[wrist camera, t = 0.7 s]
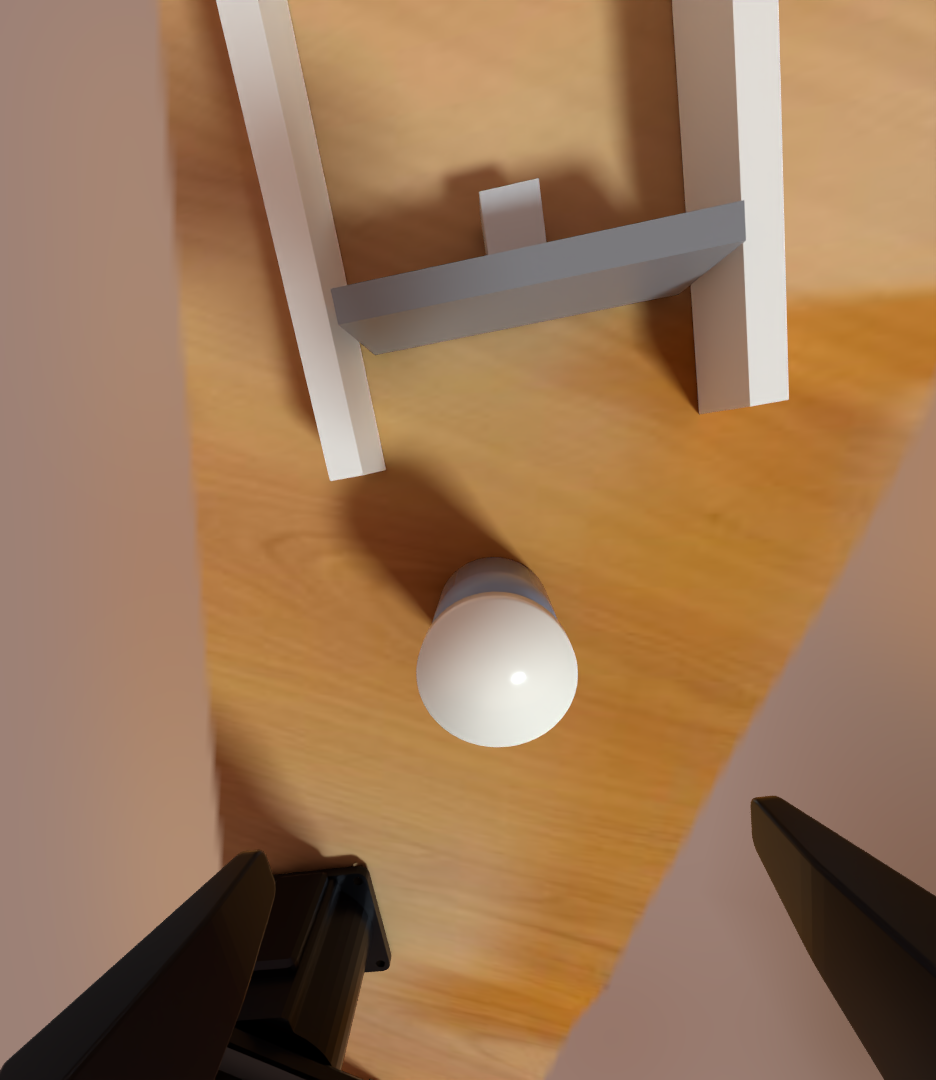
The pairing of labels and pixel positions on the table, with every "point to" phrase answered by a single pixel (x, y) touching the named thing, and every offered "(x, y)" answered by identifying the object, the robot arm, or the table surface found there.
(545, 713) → the jar
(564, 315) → the pusher
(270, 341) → the table surface
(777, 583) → the table surface
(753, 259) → the lane
